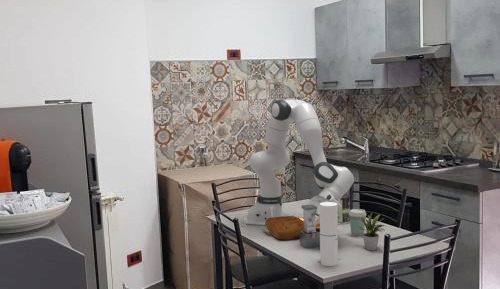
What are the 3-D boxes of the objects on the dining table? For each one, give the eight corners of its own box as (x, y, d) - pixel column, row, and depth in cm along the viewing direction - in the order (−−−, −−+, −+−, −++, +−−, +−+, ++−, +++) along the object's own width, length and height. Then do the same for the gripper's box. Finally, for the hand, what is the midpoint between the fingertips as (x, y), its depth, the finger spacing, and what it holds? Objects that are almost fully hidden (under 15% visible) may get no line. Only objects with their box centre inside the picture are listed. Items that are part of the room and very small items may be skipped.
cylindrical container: (316, 262, 209) (316, 203, 206) (329, 259, 213) (329, 201, 210) (328, 267, 203) (327, 206, 200) (341, 263, 207) (341, 204, 204)
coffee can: (348, 218, 275) (348, 193, 274) (351, 223, 265) (351, 197, 263) (329, 219, 276) (329, 193, 274) (332, 224, 265) (331, 198, 264)
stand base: (303, 253, 220) (302, 236, 220) (292, 245, 232) (292, 228, 231) (327, 250, 224) (327, 232, 223) (316, 242, 235) (315, 226, 235)
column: (306, 247, 225) (306, 208, 222) (302, 244, 230) (301, 205, 227) (317, 246, 226) (317, 206, 224) (312, 243, 231) (312, 204, 229)
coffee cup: (366, 237, 241) (366, 213, 239) (348, 237, 243) (348, 212, 241) (366, 232, 249) (366, 208, 248) (348, 232, 251) (348, 208, 249)
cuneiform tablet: (263, 231, 255) (263, 216, 254) (295, 228, 260) (295, 213, 259) (277, 244, 234) (277, 227, 233) (312, 240, 239) (311, 224, 238)
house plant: (356, 254, 218) (356, 217, 216) (349, 244, 231) (349, 209, 230) (389, 253, 218) (389, 216, 216) (380, 243, 232) (380, 208, 230)
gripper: (313, 189, 237) (295, 212, 235) (334, 198, 218) (313, 223, 216) (322, 198, 239) (304, 220, 237) (343, 207, 220) (323, 232, 218)
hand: (308, 222), depth 226 cm, fingers open, 8 cm apart
